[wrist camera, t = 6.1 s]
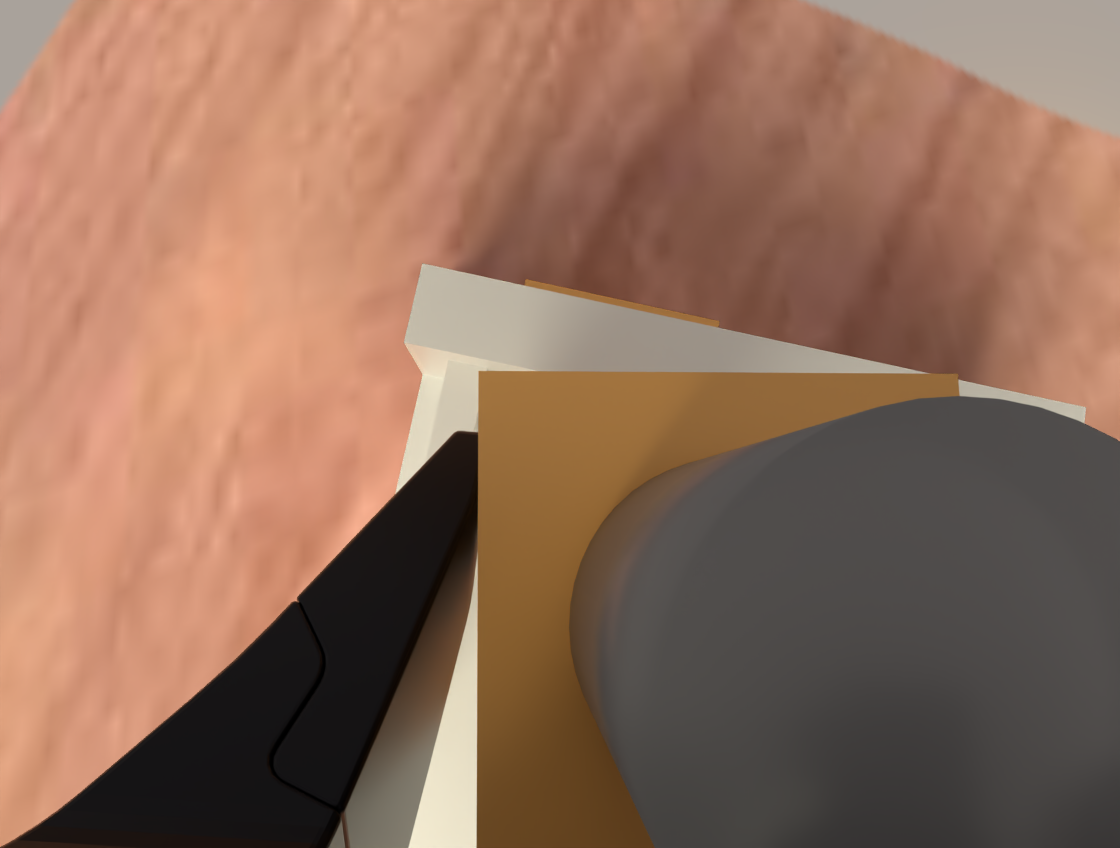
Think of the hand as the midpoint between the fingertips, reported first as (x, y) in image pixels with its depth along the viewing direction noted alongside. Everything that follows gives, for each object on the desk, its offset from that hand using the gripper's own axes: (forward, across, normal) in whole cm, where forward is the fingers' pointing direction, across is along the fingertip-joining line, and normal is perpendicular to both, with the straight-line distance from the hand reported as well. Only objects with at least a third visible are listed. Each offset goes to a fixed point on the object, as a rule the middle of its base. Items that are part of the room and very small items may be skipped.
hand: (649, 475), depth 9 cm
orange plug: (+4, 0, +6) cm, 7 cm away
